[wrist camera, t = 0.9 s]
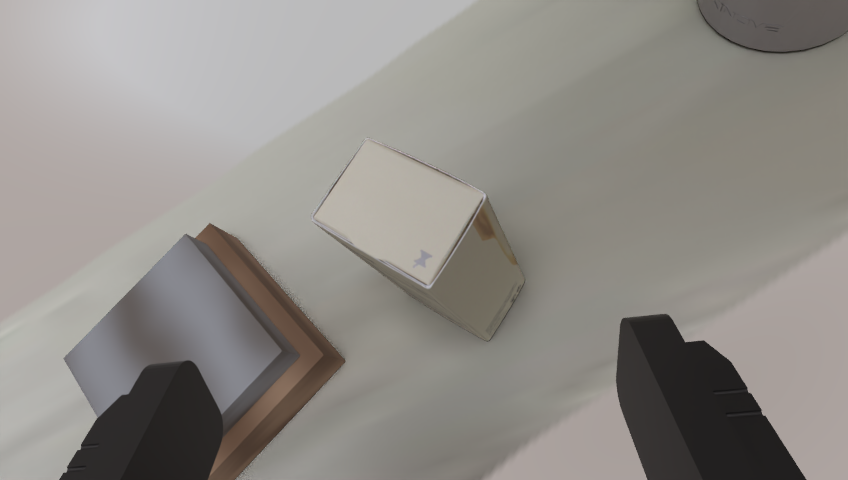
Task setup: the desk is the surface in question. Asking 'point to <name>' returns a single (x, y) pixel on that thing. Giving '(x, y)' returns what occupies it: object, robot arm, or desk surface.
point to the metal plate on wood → (212, 342)
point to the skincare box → (424, 235)
